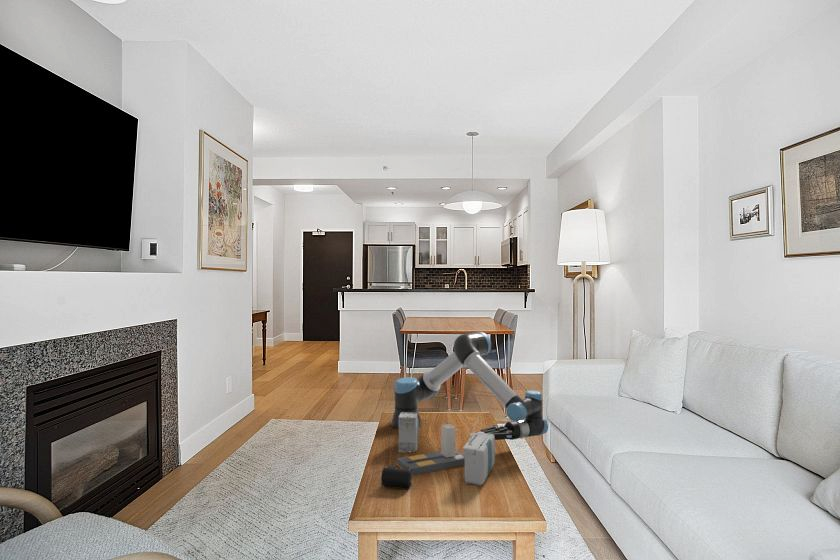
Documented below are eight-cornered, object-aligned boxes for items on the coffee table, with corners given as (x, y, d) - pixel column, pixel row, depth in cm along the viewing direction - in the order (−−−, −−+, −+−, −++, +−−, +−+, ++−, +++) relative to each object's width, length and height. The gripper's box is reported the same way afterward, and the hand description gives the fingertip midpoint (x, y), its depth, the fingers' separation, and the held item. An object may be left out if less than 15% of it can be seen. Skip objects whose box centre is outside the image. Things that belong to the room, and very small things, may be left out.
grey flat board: (397, 464, 193) (397, 458, 193) (453, 454, 204) (453, 448, 204) (409, 475, 182) (409, 468, 182) (468, 464, 194) (468, 457, 194)
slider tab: (440, 453, 198) (440, 425, 198) (449, 452, 199) (449, 423, 200) (446, 457, 193) (446, 428, 193) (455, 456, 195) (455, 427, 195)
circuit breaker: (419, 441, 221) (419, 409, 221) (415, 452, 207) (415, 417, 207) (402, 441, 221) (402, 408, 222) (398, 452, 207) (398, 417, 207)
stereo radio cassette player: (484, 487, 172) (483, 431, 172) (461, 484, 174) (461, 429, 174) (495, 466, 191) (495, 416, 191) (475, 464, 194) (475, 414, 194)
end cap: (381, 490, 170) (381, 470, 170) (386, 481, 177) (386, 463, 177) (408, 492, 168) (408, 473, 168) (413, 484, 175) (413, 465, 175)
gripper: (525, 442, 205) (478, 451, 195) (507, 434, 217) (462, 441, 206) (525, 425, 205) (478, 432, 195) (507, 417, 217) (462, 424, 206)
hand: (470, 437), depth 201 cm, fingers closed
